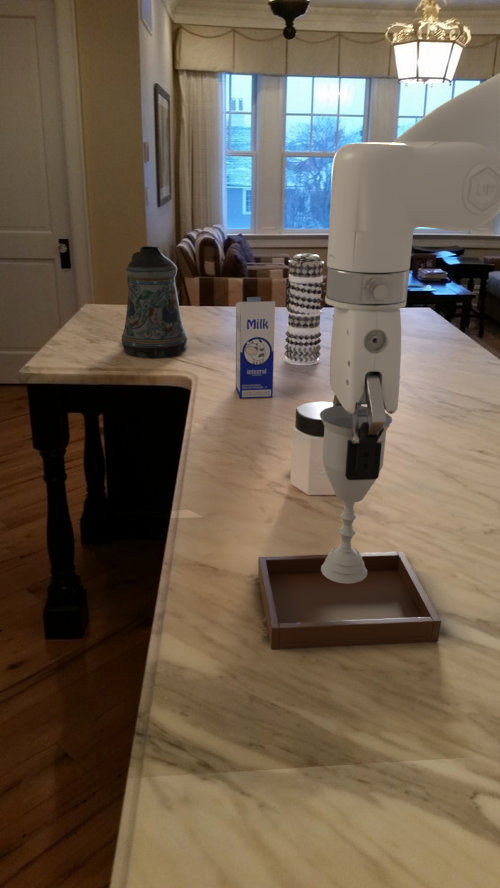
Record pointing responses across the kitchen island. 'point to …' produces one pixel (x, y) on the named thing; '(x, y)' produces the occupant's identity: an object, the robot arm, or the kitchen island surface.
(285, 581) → the tray
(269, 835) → the kitchen island surface
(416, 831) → the kitchen island surface
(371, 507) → the kitchen island surface
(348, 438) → the chalice
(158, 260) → the beer stein
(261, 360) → the milk carton
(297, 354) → the decorative candle
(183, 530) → the kitchen island surface
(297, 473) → the jar
